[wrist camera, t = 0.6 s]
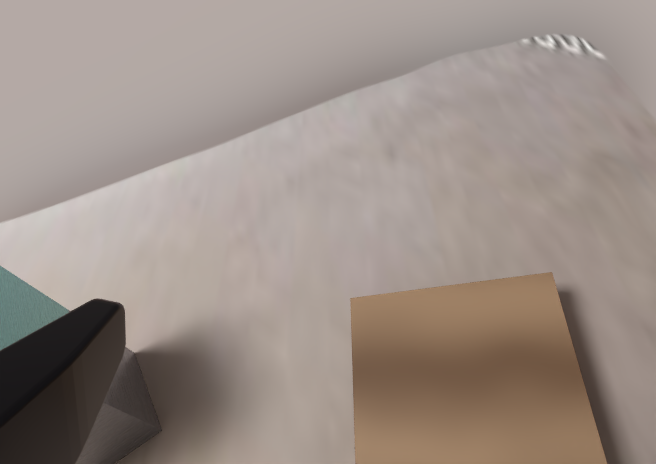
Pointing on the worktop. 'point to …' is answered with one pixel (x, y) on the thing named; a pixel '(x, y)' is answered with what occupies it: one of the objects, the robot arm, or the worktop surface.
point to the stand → (469, 377)
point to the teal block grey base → (123, 395)
